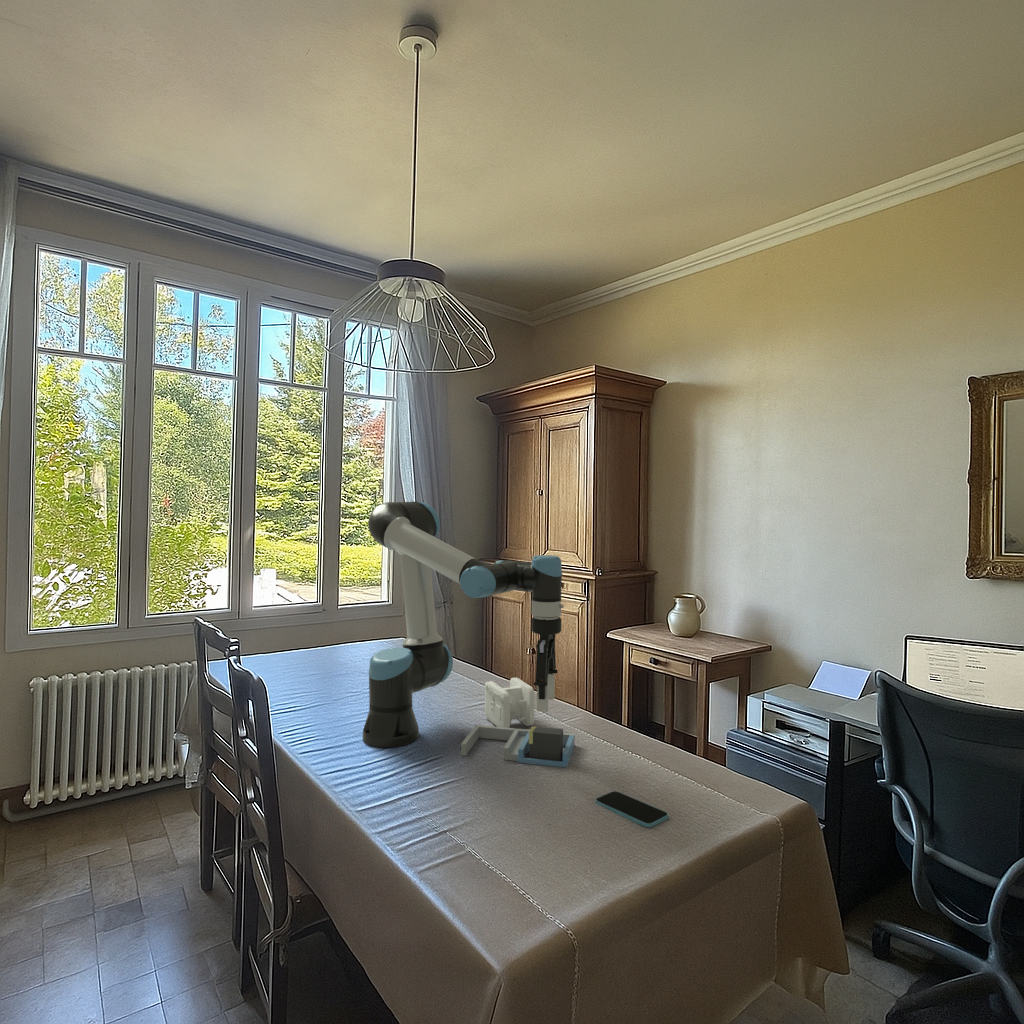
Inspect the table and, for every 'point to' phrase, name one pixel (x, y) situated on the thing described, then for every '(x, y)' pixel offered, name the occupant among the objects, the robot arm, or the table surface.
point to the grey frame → (516, 744)
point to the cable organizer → (509, 703)
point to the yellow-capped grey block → (546, 743)
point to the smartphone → (632, 809)
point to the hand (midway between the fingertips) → (545, 704)
